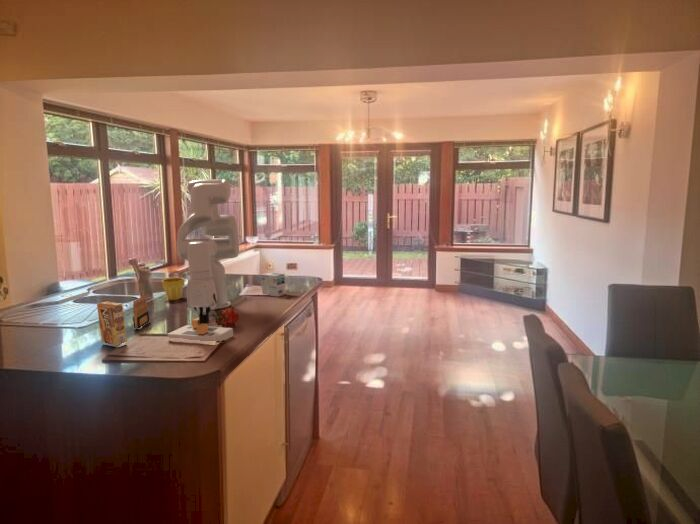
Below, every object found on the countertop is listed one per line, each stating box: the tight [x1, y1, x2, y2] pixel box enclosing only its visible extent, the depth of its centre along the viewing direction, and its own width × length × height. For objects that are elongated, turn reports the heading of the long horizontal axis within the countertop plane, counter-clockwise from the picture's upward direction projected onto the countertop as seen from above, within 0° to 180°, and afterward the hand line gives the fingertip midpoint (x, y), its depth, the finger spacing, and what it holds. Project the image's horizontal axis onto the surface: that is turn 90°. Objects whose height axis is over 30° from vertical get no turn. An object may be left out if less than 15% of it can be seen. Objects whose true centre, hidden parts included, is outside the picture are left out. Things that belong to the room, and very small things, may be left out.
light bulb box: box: [260, 272, 287, 297], centre depth 242 cm, size 11×7×11 cm, turn 58°
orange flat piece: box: [132, 294, 150, 329], centre depth 192 cm, size 11×2×12 cm, turn 0°
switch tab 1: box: [191, 317, 200, 328], centre depth 178 cm, size 2×3×3 cm
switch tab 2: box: [197, 323, 209, 334], centre depth 170 cm, size 2×3×3 cm
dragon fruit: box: [214, 306, 240, 328], centre depth 188 cm, size 8×8×12 cm
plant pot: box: [161, 277, 185, 301], centre depth 241 cm, size 10×10×10 cm
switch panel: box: [167, 324, 234, 341], centre depth 174 cm, size 20×11×3 cm, turn 72°
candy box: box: [96, 301, 128, 345], centre depth 169 cm, size 9×4×15 cm, turn 61°
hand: (204, 324), depth 177 cm, fingers closed
